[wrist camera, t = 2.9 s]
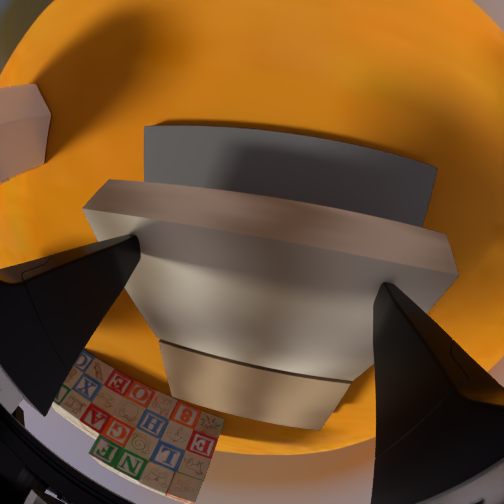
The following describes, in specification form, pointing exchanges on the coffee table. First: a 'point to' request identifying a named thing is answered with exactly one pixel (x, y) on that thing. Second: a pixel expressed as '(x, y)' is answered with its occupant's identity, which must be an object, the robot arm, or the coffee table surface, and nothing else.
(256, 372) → the oak board
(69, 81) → the coffee table surface
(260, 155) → the underlay mat
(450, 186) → the coffee table surface
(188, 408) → the stack of blocks
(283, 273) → the ash plank
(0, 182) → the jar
